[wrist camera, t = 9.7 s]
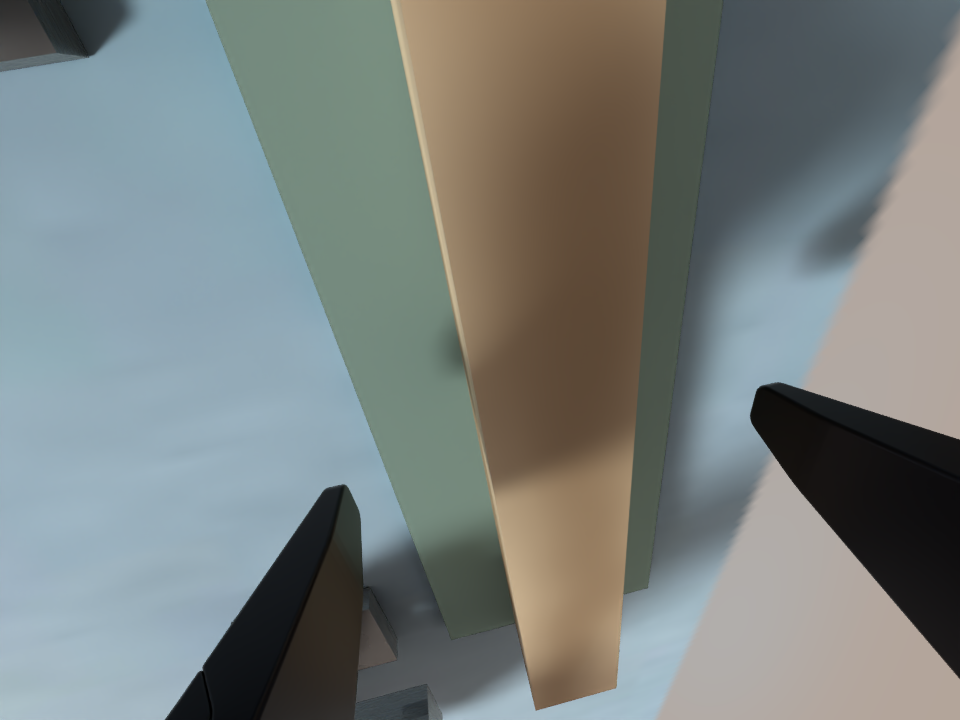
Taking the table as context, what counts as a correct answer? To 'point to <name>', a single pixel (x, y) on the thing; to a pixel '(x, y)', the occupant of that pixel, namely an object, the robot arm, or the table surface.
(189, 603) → the table surface
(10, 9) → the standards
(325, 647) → the robot arm
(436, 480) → the mat
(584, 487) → the rail
